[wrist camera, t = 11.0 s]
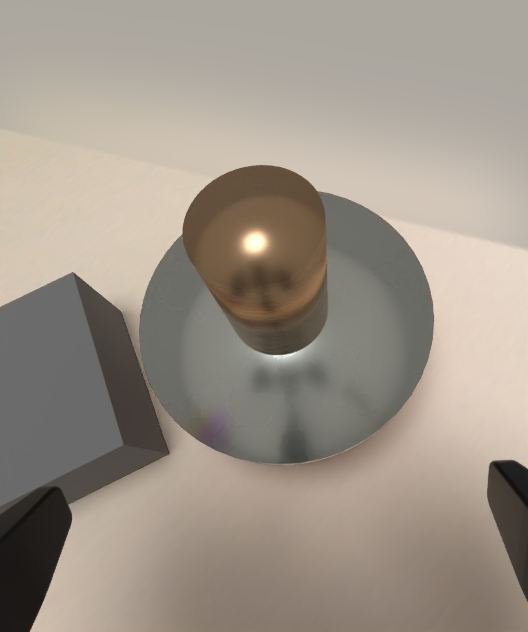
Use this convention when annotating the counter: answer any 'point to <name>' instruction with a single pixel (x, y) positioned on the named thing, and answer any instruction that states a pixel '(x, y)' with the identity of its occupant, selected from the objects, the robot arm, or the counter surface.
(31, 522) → the robot arm
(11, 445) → the block
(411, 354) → the lid
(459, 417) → the counter surface
